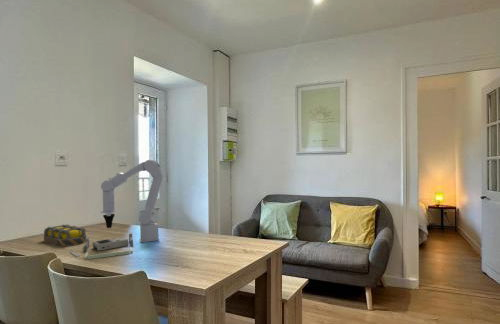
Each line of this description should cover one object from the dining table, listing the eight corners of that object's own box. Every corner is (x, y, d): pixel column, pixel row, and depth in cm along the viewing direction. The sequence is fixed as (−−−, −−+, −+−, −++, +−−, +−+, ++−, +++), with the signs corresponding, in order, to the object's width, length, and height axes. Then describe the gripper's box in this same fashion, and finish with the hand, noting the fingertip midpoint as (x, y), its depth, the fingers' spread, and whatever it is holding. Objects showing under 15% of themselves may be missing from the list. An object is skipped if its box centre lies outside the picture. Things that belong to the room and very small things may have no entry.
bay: (131, 249, 156) (131, 246, 156) (132, 253, 148) (132, 250, 148) (85, 254, 148) (85, 251, 148) (84, 259, 140) (84, 256, 140)
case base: (132, 241, 174) (132, 232, 174) (133, 246, 162) (133, 237, 162) (85, 246, 165) (85, 237, 165) (83, 252, 153) (83, 242, 153)
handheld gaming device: (128, 246, 163) (128, 238, 164) (97, 251, 154) (97, 244, 154) (122, 243, 170) (122, 236, 170) (92, 249, 160) (92, 241, 161)
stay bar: (73, 252, 155) (73, 250, 155) (80, 257, 146) (80, 255, 146) (69, 253, 154) (69, 251, 154) (76, 258, 145) (76, 255, 145)
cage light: (66, 223, 194) (91, 227, 176) (66, 236, 194) (91, 241, 176) (39, 227, 183) (62, 232, 165) (39, 241, 182) (63, 247, 165)
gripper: (100, 201, 178) (101, 226, 177) (100, 204, 164) (100, 230, 164) (114, 201, 180) (115, 225, 180) (114, 203, 167) (115, 229, 167)
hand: (109, 227), depth 172 cm, fingers closed
